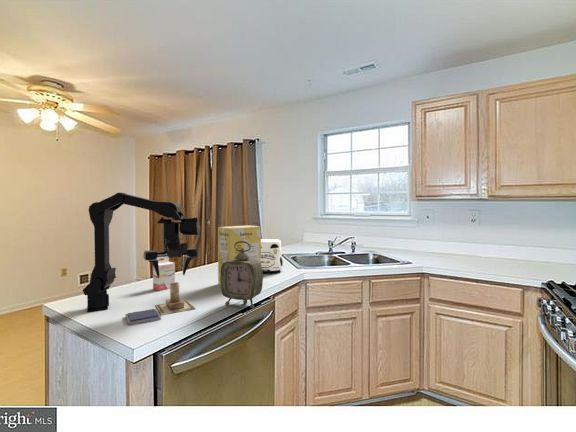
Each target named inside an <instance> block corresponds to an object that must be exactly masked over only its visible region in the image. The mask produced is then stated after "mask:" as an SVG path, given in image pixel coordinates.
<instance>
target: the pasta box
mask: <svg viewBox="0 0 576 432" xmlns="http://www.w3.org/2000/svg"><path fill="white" fill-rule="evenodd" d="M261 227H262V226H261V225H260V226H259V225H258V226H257V225H234V226H232V225H231V226H218V227H217V267H218V269H217V271H218V272H217V273H218V276H217V277H218V278H217V279H218V280H217V281H218V282H217V283H218V285H219V284H220V286H221V281H220V277H221V267H222V264H223V263H225V262H227V261H230V260H233V259H236V256H237V254H239V253H241V252H239V251H237V250H236V249H238V250H241V248H243V249H244V250H248V249H249V245H248V244H246V243H238V244H236V246H235V247H236V249H235V248H234V245H235V243H236V242H238V241H245V242H248V243H249V244H250V246H251V248H250V250H249V251H247V252H244V253H246V254H247V255H248V256H249V259H254V260H258V261H259V262H260V263H261V239H262V238H261V237H262V228H261Z"/></svg>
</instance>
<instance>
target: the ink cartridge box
mask: <svg viewBox="0 0 576 432" xmlns="http://www.w3.org/2000/svg"><path fill="white" fill-rule="evenodd" d="M157 260H158V268H159V278H158V277H157V274H156V272H155V269H154V266H153V265H152V289H153V290H155V291H158V292H160V291H165V290H168V289H170V283H174V282H176V264H175V262H172V261H170V258H169V257H168V256H166V257H157Z"/></svg>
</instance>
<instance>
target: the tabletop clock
mask: <svg viewBox="0 0 576 432" xmlns="http://www.w3.org/2000/svg"><path fill="white" fill-rule="evenodd" d="M238 243H246V244H248V245H249V249H248V250H244V249H243V248H241V250H238V249H236V247H235V246H236V244H238ZM234 248H235V249H236V250H237V251H239V252H241V253H239V254H237V256H236V259H233V260H230V261H227V262H225V263H223V264H222V267H221V277H220V281H221V285H220V288H221V294H222V296H223V297H225V298H227V299H228V300H227V301H225V303H224V305H225V306H228V307H229V305H230V301H231V300H237V301H238V300H239V301H242V303H243V304H247V303H248V301H249V302H250V309H252V310H253V309H255V308H256V307H255V304H253V299H254V298H256V297H257V296H259V295H260V294H261V292H262V290H263V283H264V275H263V274H264V272H263V271H262V265H261V263H260V262H259V261H258V260H254V259H249V256H248V255H247V254H246V253H244V252H247V251H249V250H250V248H251V246H250V244H249V243H248V242H245V241H238V242H236V243H235V245H234Z"/></svg>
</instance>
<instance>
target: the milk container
mask: <svg viewBox="0 0 576 432" xmlns="http://www.w3.org/2000/svg"><path fill="white" fill-rule="evenodd" d="M283 262H284V261H283V258H282V241H281V240H280V239H275V238H272V239H271V238H270V239H269V238H263V239H262V238H261V265H262V271H263V273H276V272H280V271H281V270H282V269H283V266H284V265H283V264H284V263H283Z"/></svg>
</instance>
